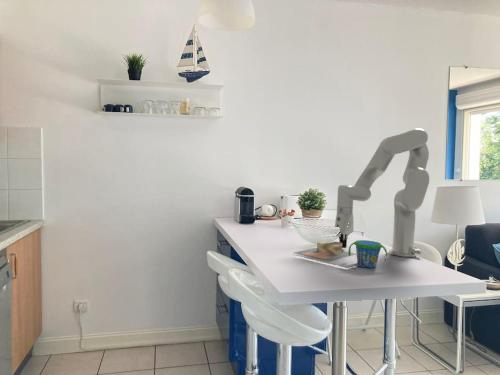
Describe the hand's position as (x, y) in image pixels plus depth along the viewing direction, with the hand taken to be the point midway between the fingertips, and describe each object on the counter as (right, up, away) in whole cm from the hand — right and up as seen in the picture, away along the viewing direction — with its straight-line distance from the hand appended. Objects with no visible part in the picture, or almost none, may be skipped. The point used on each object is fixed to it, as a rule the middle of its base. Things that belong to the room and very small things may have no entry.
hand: (342, 247), depth 198 cm
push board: (-11, -2, -10) cm, 15 cm away
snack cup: (+4, -4, -29) cm, 29 cm away
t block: (-6, -1, -6) cm, 9 cm away
